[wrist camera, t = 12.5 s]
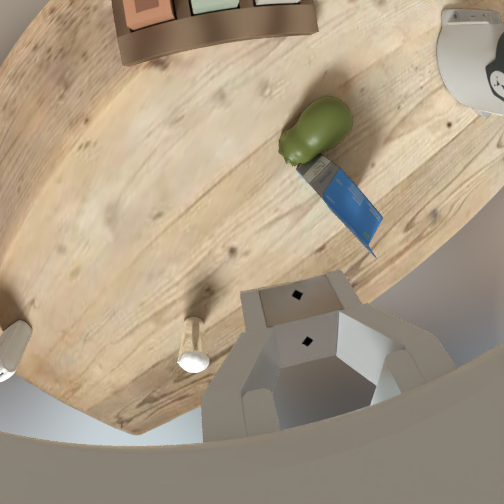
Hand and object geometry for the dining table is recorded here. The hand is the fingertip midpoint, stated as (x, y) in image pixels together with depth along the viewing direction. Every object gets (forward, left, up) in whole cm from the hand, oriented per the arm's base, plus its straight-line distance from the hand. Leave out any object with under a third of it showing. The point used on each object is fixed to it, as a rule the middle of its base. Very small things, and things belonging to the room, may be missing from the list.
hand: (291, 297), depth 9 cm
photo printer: (+54, +1, -29) cm, 61 cm away
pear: (-8, +5, -30) cm, 31 cm away
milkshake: (+22, +20, -29) cm, 42 cm away
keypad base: (-8, -15, -29) cm, 34 cm away
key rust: (-2, -18, -29) cm, 34 cm away
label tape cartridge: (-7, +12, -29) cm, 33 cm away
